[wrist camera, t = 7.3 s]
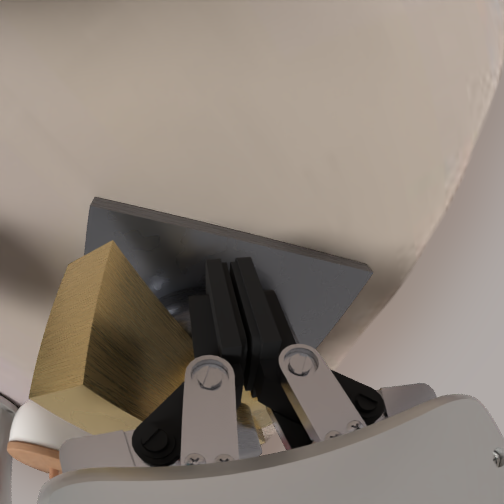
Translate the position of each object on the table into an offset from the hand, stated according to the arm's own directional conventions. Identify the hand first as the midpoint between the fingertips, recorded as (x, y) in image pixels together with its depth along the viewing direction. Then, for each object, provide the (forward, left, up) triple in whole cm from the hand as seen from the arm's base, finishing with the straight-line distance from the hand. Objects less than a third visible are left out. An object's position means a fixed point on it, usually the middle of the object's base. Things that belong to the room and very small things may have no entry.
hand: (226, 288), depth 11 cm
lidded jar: (-26, +10, -6) cm, 29 cm away
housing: (-9, -3, -5) cm, 11 cm away
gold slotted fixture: (-7, 0, -1) cm, 7 cm away
